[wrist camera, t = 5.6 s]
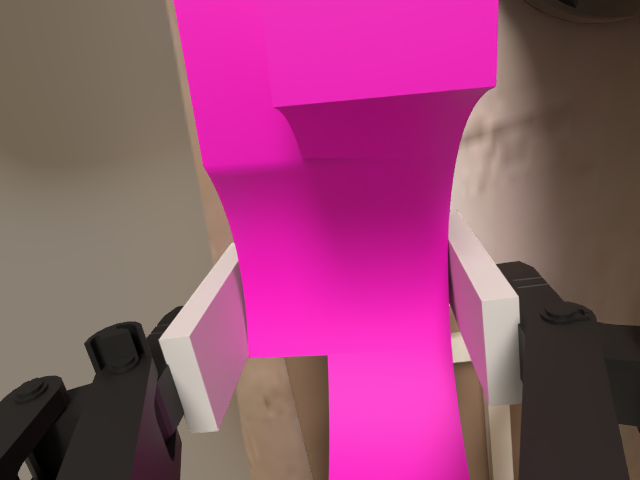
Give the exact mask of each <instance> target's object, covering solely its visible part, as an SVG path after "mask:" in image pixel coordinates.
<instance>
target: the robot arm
mask: <svg viewBox="0 0 640 480" xmlns="http://www.w3.org/2000/svg"><path fill="white" fill-rule="evenodd" d="M524 1H526V2H527V3H529V4H530V5H531V6H533V7H535V8H536V9H538V10H540V11H542V12H544V13H546V14H548V15H551V16H554V17H556V18H559V19H563V20H567V21H573V22H580V23H606V22H613V21H619V20H624V19H629V18H634V17H638V16H640V0H524ZM448 294H449V304H450V307H451V309H452V312H453V314H454V317H455V319H456V322H457V325H458V327H459V330H460V332H461V335H462V337H463V340H464V343H465V345H466V348H467V350H468V353H469V355H470V358H471V361H472V363H473V366H474V368H475V371H476V373H477V376H478V379H479V381H480V384H481V386H482V389H483V391H484V394H485V397H486V399H487V402H488V404H489V406H501V405H512V404H522V412H521V434H520V456H519V478H518V480H630V479H629V474H628V469H627V465H626V460H625V455H624V450H623V445H622V441H621V436H620V431H619V426H618V424H624V425H632V426H637V428H638V431H639V433H640V326H627V325H612V324H604V323H599V322H597V320H596V317H595V315H594V314H593V312H592V311H591V310H589V309H588V308H586V307H584V306H582V305H578V304H575V303H572V302H564V301H563V300H562V299H561V298H560V297H559V295H558V294H557V293H556V292H555V291H554V290H553V289H552V288H551V287H550V285H549V284H548V285H547V282H546V281H545V280H544V279H543V278H541V275H540V274H539V273H538V272H537V271H536V270H535V269H534V268H533V267H531V266H529V265H527V264H525V263H522V262H520V261H517V262H509V263H501V264H495V263H494V261H493V260H492V258H491V257H490V256H489V254H488V253H487V251H486V250H485V249H484V247H483V246H482V244H481V243H480V242H479V240H478V239H477V237H476V236H475V235H474V233H473V232H472V230H471V229H470V228H469V226H468V225H467V223H466V222H465V221H464V219H463V218H462V216H461V215H460V214H459V212H458V211H457V210H455V211H450V214H449V232H448ZM84 345H85V347H86V350H87V352H88V355H89V357H90V359H91V362H92V365H93V367H94V370H95V372H96V375H95V377H94V380H93V383H91V384H88V385H84V386H81V387H77V388H74V389H71V390H68V391H67V390H66V388H65V386H64V383H63V381H62V378H61V377H58V376H45V377H42V378H35V379H32V380H31V381H27V382H25V383H23V384H22V385H21V386H20V387H18V388H17V389H15V390H13V391H12V392H11V393H10V394H8V395H7V396H6V397H5V398H4V399H3V400H2V401H1V402H0V480H20V479H19V477H18V471H19V469H20V467H21V465H22V463H23V462H24V461H25V462H26V464H27V466H28V468H29V470H30V473H31V475H32V476H33V477H32V479H31V480H180V469H181V447H182V442H181V439H180V436H179V433H178V430H177V426H178V425H179V422H180V421H181V419H182V417H183V415H184V417H185V421H186V424H187V426H188V430H189V432H190V433H200V432H211V431H219V428H220V426H221V423H222V421H223V418H224V415H225V413H226V411H227V408H228V405H229V403H230V400H231V398H232V395H233V392H234V390H235V388H236V385H237V383H238V380H239V378H240V375H241V372H242V370H243V367H244V365H245V362H246V360H247V357H248V355H249V351H248V332H247V318H246V308H245V298H244V291H243V283H242V277H241V271H240V266H239V261H238V256H237V251H236V247H235V243H231V244H230V246H229V247H228V248H227V250H226V251H225V252H224V254H223V255H222V256H221V258H220V259H219V260H218V262H217V263H216V264H215V266H214V267H213V268H212V270H211V271H210V273H209V274H208V275H207V276H206V278H205V279H204V280H203V282H202V283H201V284H200V286H199V287H198V288H197V290H196V291H195V292H194V294H193V295H192V296H191V298H190V299H189V300H188V302H187V303H186V304H185V305H184V306H179V307H176V308H175V309H174V310H172V311H171V312H169V313H168V314H166V315H165V316H164V317H163V318H162V320H161V321H160V322H159V323H158V325H157V327H155V328H154V330H153V331H152V332H151V334H150V335H149V336H148V337H147V338H146V337H145V334H144V331H143V328H142V325H141V324H140V323H138V322H123V323H118V324H115V325H112V326H109V327H107V328H105V329H103V330H101V331H98V332H97V333H95V334H94V335H92V336H91V337H90V338H89V339H88V340H87V341H86V342H85V343H84Z"/></svg>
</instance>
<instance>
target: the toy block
mask: <svg viewBox="0 0 640 480" xmlns="http://www.w3.org/2000/svg"><path fill="white" fill-rule="evenodd" d="M174 5H175V11H176V16H177V22H178V28H179V33H180V39H181V44H182V50H183V55H184V61H185V67H186V72H187V78H188V83H189V89H190V95H191V100H192V106H193V111H194V117H195V122H196V128H197V134H198V139H199V145H200V150H201V156H202V161H203V166H204V168H205V170H206V172H207V173H208V175H209V177H210V178H211V180H212V182H213V184H214V186H215V188H216V191H217V193H218V195H219V197H220V200H221V202H222V205H223V207H224V210H225V213H226V216H227V219H228V222H229V225H230V229H231V232H232V235H233V239H234V243H235V247H236V251H237V256H238V261H239V266H240V271H241V277H242V283H243V291H244V298H245V308H246V318H247V332H248V351H249V355H248V356H249V358H265V357H293V356H322V355H328V379H329V480H470V476H469V471H468V465H467V460H466V454H465V448H464V442H463V435H462V429H461V422H460V415H459V408H458V400H457V392H456V384H455V375H454V366H453V355H452V344H451V331H450V315H449V294H448V232H449V214H450V201H451V191H452V183H453V175H454V169H455V163H456V158H457V154H458V149H459V145H460V141H461V138H462V134H463V131H464V128H465V125H466V123H467V120H468V118H469V116H470V114H471V112H472V110H473V108H474V106H475V105H476V103H477V102H478V100H479V99H480V98H481V97H482V96H483V95H484V94H485V93H486V92H487V91H488V90H490V89H492V88H494V87H496V74H497V40H498V5H499V0H174Z"/></svg>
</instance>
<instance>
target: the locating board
mask: <svg viewBox="0 0 640 480" xmlns="http://www.w3.org/2000/svg"><path fill="white" fill-rule="evenodd" d="M449 315H450V331H451V344H452V355H453V366H454V375H455V384H456V392H457V400H458V408H459V415H460V422H461V429H462V435H463V442H464V448H465V454H466V460H467V465H468V471H469V476H470V480H518V478H519V456H520V434H521V412H522V404H512V405H501V406H489V404H488V402H487V399H486V397H485V394H484V391H483V389H482V386H481V384H480V381H479V379H478V376H477V373H476V371H475V368H474V366H473V363H472V361H471V358H470V355H469V353H468V350H467V348H466V345H465V343H464V340H463V337H462V335H461V332H460V330H459V327H458V325H457V322H456V319H455V317H454V314H453V312H452V309H451V307H449ZM284 359H285V363H286V367H287V371H288V376H289V380H290V384H291V388H292V392H293V397H294V401H295V405H296V409H297V413H298V418H299V422H300V426H301V430H302V435H303V439H304V443H305V447H306V451H307V456H308V460H309V464H310V468H311V472H312V477H313V480H329V379H328V355H322V356H293V357H284Z"/></svg>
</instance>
